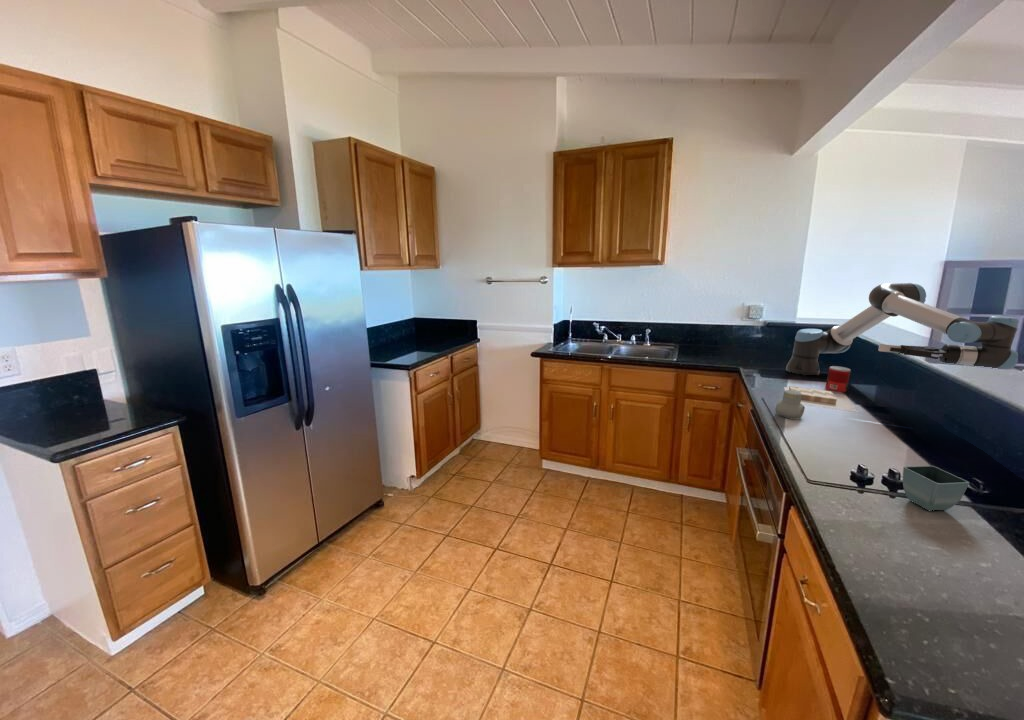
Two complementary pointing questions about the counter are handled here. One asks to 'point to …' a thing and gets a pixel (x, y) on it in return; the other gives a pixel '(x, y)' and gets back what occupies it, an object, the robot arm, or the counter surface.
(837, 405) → the mat
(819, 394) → the tile
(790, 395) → the air freshener
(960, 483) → the flower pot
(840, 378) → the canned food
